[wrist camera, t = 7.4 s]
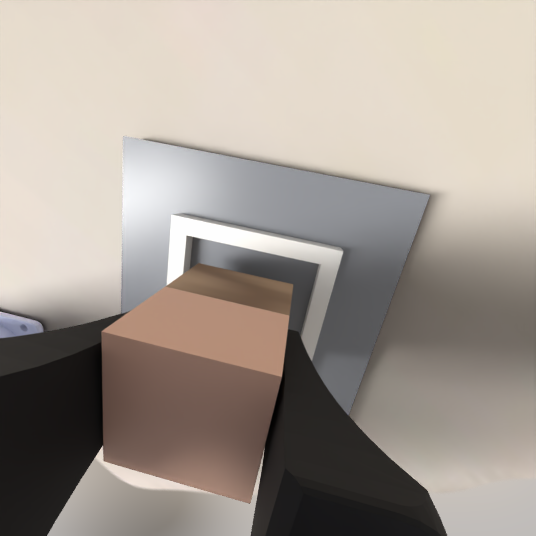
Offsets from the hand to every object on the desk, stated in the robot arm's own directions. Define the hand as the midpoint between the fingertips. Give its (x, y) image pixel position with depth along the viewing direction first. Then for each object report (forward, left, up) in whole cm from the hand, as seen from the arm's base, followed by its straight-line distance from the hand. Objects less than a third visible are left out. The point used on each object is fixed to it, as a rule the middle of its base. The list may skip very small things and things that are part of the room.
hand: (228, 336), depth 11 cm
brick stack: (0, 0, -2) cm, 2 cm away
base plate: (0, 0, -4) cm, 4 cm away
